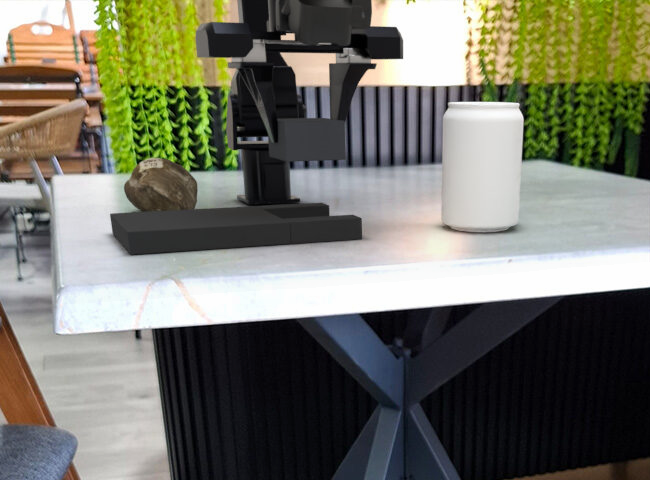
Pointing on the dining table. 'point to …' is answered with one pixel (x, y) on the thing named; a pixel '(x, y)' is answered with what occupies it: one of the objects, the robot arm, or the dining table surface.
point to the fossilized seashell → (161, 186)
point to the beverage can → (481, 165)
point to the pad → (309, 140)
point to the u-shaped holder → (231, 227)
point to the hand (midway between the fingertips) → (305, 141)
